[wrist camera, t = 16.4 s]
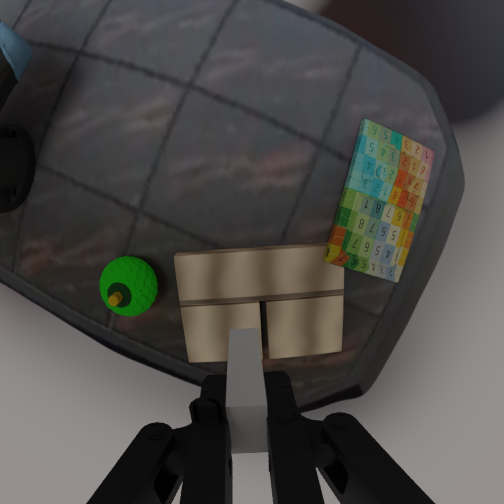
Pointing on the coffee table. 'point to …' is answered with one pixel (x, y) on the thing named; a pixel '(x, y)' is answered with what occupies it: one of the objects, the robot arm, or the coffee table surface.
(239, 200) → the coffee table surface
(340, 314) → the plank
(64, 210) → the coffee table surface
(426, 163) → the puzzle game
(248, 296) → the laid board
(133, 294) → the ornament
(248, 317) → the plank
